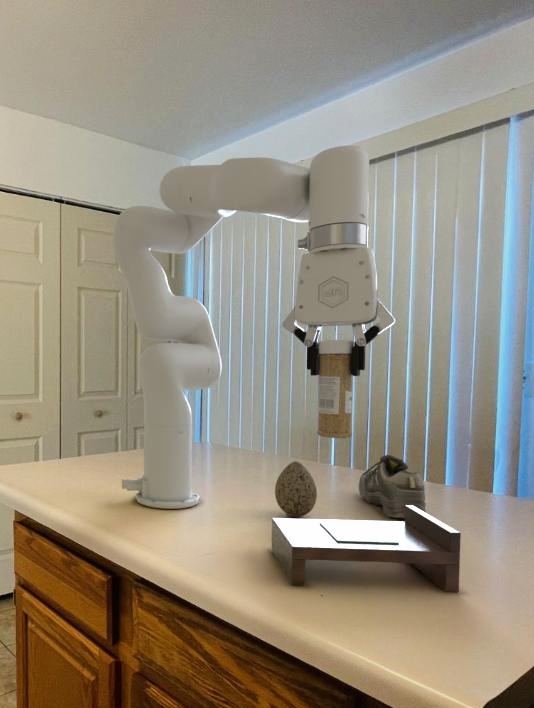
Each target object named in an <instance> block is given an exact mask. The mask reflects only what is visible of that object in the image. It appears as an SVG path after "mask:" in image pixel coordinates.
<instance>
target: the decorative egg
mask: <svg viewBox="0 0 534 708" xmlns="http://www.w3.org/2000/svg"><path fill="white" fill-rule="evenodd" d="M274 496H275V501H276V503H277V505H278V507H279V508H280V510H282V512H284V513H285V514H287V515H289V516H290V517H294V518H295V517H296V518H299V517H300V518H301V517H303V516H306V515H307V514H310V512H311V511H312V510H313V509H314V507H315V505H316V502H317V497H318V491H317V486H316V483H315V480H314V478H313V476H312V474H311V473H310V472H309V470H308V468H307V467H306V466H304V465H303V464H302V463H301V462H300V461H292V462H290V463H288V465H287V466H285V467H284V468H283V469H282V471H281V472H280V474H279V475H278V477H277V479H276V482H275V487H274Z"/></svg>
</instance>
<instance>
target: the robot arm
mask: <svg viewBox="0 0 534 708" xmlns="http://www.w3.org/2000/svg"><path fill="white" fill-rule="evenodd" d="M159 196H160V200H161V202H162V203H163V205H164V206H165V207H166V208H167V209H164V208H159V207H153V206H147V205H135V206H130V207H127V208H125V209H124V210H122V211H121V213H119V215H118V217H117V218H116V220H115V223H114V228H113V233H112V235H113V236H112V245H113V251H114V256H115V259H116V262H117V265H118V266H119V269H120V272H121V274H122V276H123V279H124V282H125V285H126V289H127V294H128V298H129V302H130V306H131V309H132V315H133V318H134V322H135V326H136V329H137V332H138V333H139V335H140V336H141V337H142V338H143V339H145V340H148V341H155V342H161V343H155V344H153V345H150V346H149V347H147V348H146V349H145V350H144V351H143V352H142V354H141V356H140V357H139V361H138V373H139V378H140V385H141V388H142V389H141V390H142V397H143V398H142V399H143V474H142V478H141V477H138V478H137V479H125V478H124V479H123V478H122V479H121V489H122V490H126V491H127V492H129V491H130V492H133V491H136V494H135V498H136V499H135V500H136V501H137V503H139V504H141V505H143V506H146V507H150V508H155V509H164V510H165V509H166V510H167V509H168V510H173V509H175V510H177V509H186V508H191V507H194V506H197V505H198V504H199V503H200V495H199V494H198V493H197V492H195V491H193V490H192V477H193V476H192V473H193V469H192V468H193V467H192V466H193V464H192V463H193V461H192V458H193V457H192V456H193V450H192V449H193V414H192V408H191V406H190V402H189V401H188V399H187V397H186V394H185V392H184V391H198V390H199V391H200V390H207V389H210V388H213V387H214V386H215V385H216V384H217V383H218V382H219V380H220V378H221V375H222V369H223V368H222V367H223V366H222V357H221V354H220V349H219V346H218V342H217V339H216V335H215V332H214V329H213V325H212V321H211V317H210V315H209V313H208V310H207V308H206V307H205V306H204V305H203V303H202V302H201V301H200V300H198V299H196V298H194V297H190V296H184V295H176V294H174V293H173V292H172V291H171V288H170V285H169V282H168V277H167V273H166V272H165V270H164V267H163V266H162V265H161V263H160V262H159V261H158V260H157V258H156V257H154V256H153V254H152V253H151V251H152V252H158V253H167V254H173V255H182V254H185V253H187V252H189V251H191V250H192V249H193V248H195V247H196V246H197V245H198V244H199V243H200V242H201V241H202V240H203V239H204V238H205V236H207V234H209V233H210V232H211V231H212V229H214V228H215V226H217V225H218V223H220V221H222V220H223V218H228V217H230V216H232V215H233V214H235V213H236V212H245V213H253V214H258V215H263V216H269V217H274V218H278V219H283V220H286V221H290V222H294V223H307V222H308V231H307V233H306V234H307V235H306V236H305V237H303V238H300V239H298V240H297V248H298V250H302V249H303V250H306V251H307V253H304V254H302V255H301V260H300V264H299V268H298V276H297V284H296V295H295V306H294V307H293V308H292V309H291V311H290V313H288V315H287V316H286V318H285V319H284V320H283V322H282V324H281V325H282V327H283V329H286V330H287V331H288V332H290V333H291V334H293V335H294V336H295V337H296V338H297V339H298V340H299V341H300V342H301V343H302V344H303V345H304V346H305V347H306V369H307V371H308V370H309V371H310V376H314V377H315V376H319V356H320V354H318V343H319V337H320V334H321V331H322V327H341V326H343V327H344V326H351V329H352V332H353V335H354V340H355V341H353V342H354V346H353V347H352V367H351V376H353V377H360V375H361V371H366V370H365V369H366V347H367V346H368V345H369V344H370V343H371V342H372V341H373V340H374V339H376V338H377V336H379V334H382V333H383V332H384V331H385V330H387V329H388V328H390V327H391V326H393V325H394V324H395V322H396V319H395V318H394V316H393V315H392V314H391V313H390V312H389V311H388V309H387V308H386V307H385V305H383V303H382V302H381V301H380V299H379V295H378V275H377V265H376V258H375V254H374V253H375V252H374V248H371V247H369V203H370V201H369V200H370V199H369V198H370V157H369V154H368V152H367V151H366V149H364V148H363V147H360V146H357V145H339V146H334V147H330V148H326V149H324V150H321V151H320V152H318V153H317V154H316V155H314V157H312V160H311V162H310V165H309V167H307V166H300V165H297V164H295V163H290V162H288V161H284V160H280V159H277V158H273V157H237V158H236V157H234V158H229V159H227V160H225V161H223V162H222V163H221V164H203V165H182V166H177V167H174V168H171V169H170V170H169V171H167V172H166V173H165V174H164V176H163V177H162V179H161V181H160V183H159ZM378 317H379V321H377V323H375V324H374V325H372V326H370V328H368V329H367V330H366V328H365V325H368V324H369V325H370V324H371V323H374V322H375V321H376V320H377V318H378ZM297 323H298V324H301V325H306V326H308V327H307V329H306V330H305V329H304V328H302V327H300V326H299V325H298V324H297Z"/></svg>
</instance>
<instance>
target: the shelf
mask: <svg viewBox="0 0 534 708" xmlns="http://www.w3.org/2000/svg"><path fill="white" fill-rule="evenodd" d="M461 536H462V534H461V532H460V531H458V530H457V529H455V528H453V527H452V526H450V525H447V524H446V523H444V522H442V521H441V520H439V519H438V518H436V517H435V516H433V515H430V514H428V513H427V512H426V513H425V512H424V511H422V510H420V509H418V508H417V507H415V506H413V505H405V518H404V521H397V520H366V519H365V520H364V519H363V520H361V519H358V520H357V519H327V518H326V519H325V518H293V517H292V518H291V517H290V518H288V517H286V518H285V517H272V518H271V548H270V551H271V553H272V554H273V556H274V558H275V560H276V561H277V563H278V565H279V567H280V568H281V570H282V571H283V573H284V575H285V577H286V578H287V580H288V582H289V584H290V585H291V586H295V587H305V585H306V584H305V582H306V581H305V580H306V579H305V578H306V560H308V561H334V562H335V561H337V562H338V561H339V562H340V561H341V562H365V563H366V562H367V563H392V564H393V563H396V564H411V565H412V566H414V567H415V568H416V569H417V570H418V571H420V572H421V573H422V574H423V575H424V576H426V577H427V578H428V579H429V580H430V581H432V582H433V583H434V584H436V585H437V586H438V587H439V588H441V589H442V590H443V591H444V592H445V593H446V592H448V593H459V592H460V567H461V565H460V564H461V562H460V561H461V538H462V537H461Z"/></svg>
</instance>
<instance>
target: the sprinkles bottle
mask: <svg viewBox="0 0 534 708" xmlns="http://www.w3.org/2000/svg"><path fill="white" fill-rule="evenodd" d="M354 342H355V341H353V340H351V339H350V340H349V339H325V340H318V342H317V343H318V354H320V356H319V375H317V376H318V382H317V413H318V422H317V423H318V425H317V426H318V429H317V436H320V437H322V438H329V439H348V438H350V437H352V435H353V432H352V412H353V400H352V399H353V380H352V376H353V375H351V367H352V347H353V346H354Z"/></svg>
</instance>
